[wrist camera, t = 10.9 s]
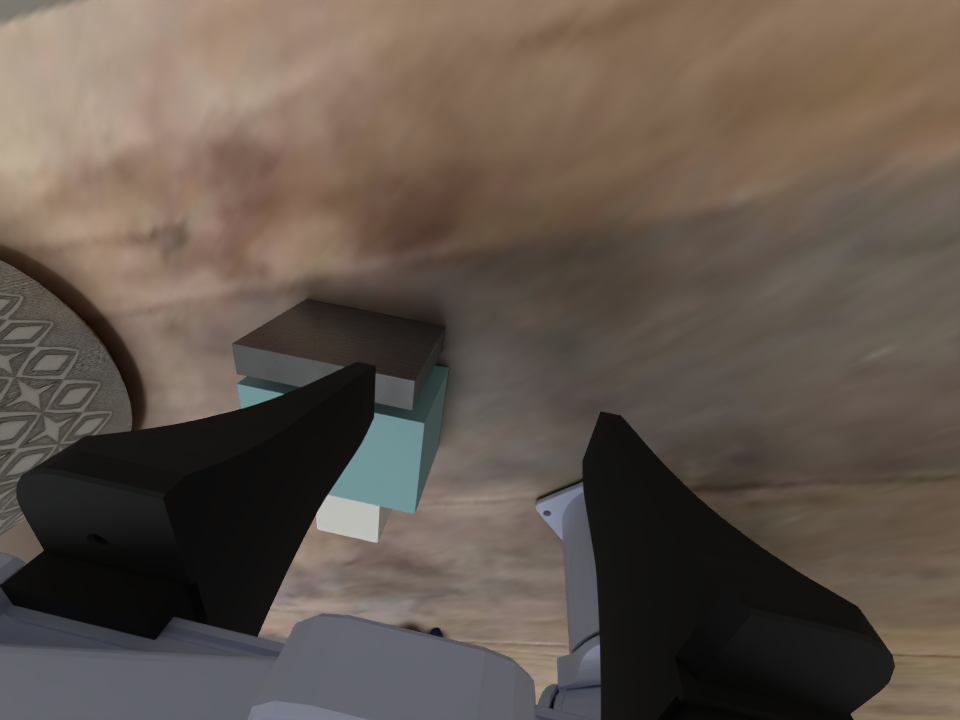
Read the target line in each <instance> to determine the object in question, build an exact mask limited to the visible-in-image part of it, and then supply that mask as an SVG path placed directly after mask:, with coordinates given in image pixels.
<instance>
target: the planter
mask: <svg viewBox="0 0 960 720" xmlns="http://www.w3.org/2000/svg"><path fill="white" fill-rule="evenodd" d="M131 428H132V410H131V403H130V400H129V396H128V393H127V389H126V387H125V384H124V382H123V380H122V378H121V375H120V372H119V370H118V368H117V366H116V363H115V361H114V360H113V358H112V356H111V355H110V353H109V351H108V350H107V348H106V346H105V345H104V344H103V342H102V341H101V340H100V338H99V337H98V336H97V334H96V333H95V332H94V331H93V330H92V329H91V328H90V327H89V325H88V324H87V323H86V322H85V321H84V320H83V319H82V318H81V317H80V316H79V315H78V314H77V313H76V312H74V311H73V310H72V309H71V308H70V307H69V306H68V305H66V304H65V303H64V302H63V301H61V300H60V299H59V298H57V297H56V296H55V295H53V294H52V293H51V292H50V291H48V290H47V289H46V288H44V287H43V286H42V285H40V284H39V283H38V282H37V281H35V280H34V279H32V278H30V277H29V276H27V275H26V274H24V273H23V272H21V271H19V270H18V269H16V268H15V267H13V266H11V265H9V264H7V263H5V262H3V261H1V260H0V536H1V535H3V534H4V533H6V532H7V531H9V530H10V529H11V528H12V527H14V526H16V525H17V524H19V523H20V522H22V521H23V520H24V519H26V518H25V516H24V514H23V512H22V511H21V508H20V506H19V503H18V501H17V498H16V486H17V483H18V481H19V479H20V477H21V475H23V474H24V473H26V472H28V471H29V470H31V469H33V468H34V467H36V466H37V465H39V464H41V463H42V462H44V461H45V460H47V459H49V458H50V457H52V456H54V455H55V454H57V453H58V452H60V451H62V450H63V449H65V448H66V447H68V446H70V445H71V444H73V443H75V442H76V441H78V440H79V439H81V438H83V437H85V436H91V435H101V434H109V433H118V432H127V431H131Z"/></svg>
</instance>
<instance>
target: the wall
mask: <svg viewBox="0 0 960 720" xmlns="http://www.w3.org/2000/svg"><path fill="white" fill-rule="evenodd" d="M444 334H445V327H444V326H439V325H434V324H429V323H424V322H419V321H414V320H409V319H403V318H398V317H393V316H388V315H383V314H378V313H373V312H368V311H363V310H358V309H353V308H348V307H343V306H338V305H333V304H327V303H322V302H317V301H312V300H307V299H306V300H304V301H302V302H301V303H299V304H297V305H296V306H294V307H292V308H291V309H289V310H287V311H286V312H284V313H282V314H281V315H279V316H277V317H276V318H274V319H272V320H271V321H269V322H267V323H266V324H264V325H262V326H261V327H259V328H257V329H256V330H254V331H252V332H251V333H249V334H247V335H246V336H244V337H242V338H241V339H239V340H237V341H236V342H234V343H232V346H233V353H234V359H235V365H236V371H237V374H240V375H245V376H250V377H255V378H260V379H264V380H269V381H274V382H279V383H284V384H288V385H293V386H298V387H303V386H305V385H307V384H309V383H312V382H314V381H316V380H318V379H320V378H323V377H325V376H327V375H329V374H331V373H333V372H335V371H337V370H340V369H342V368H344V367H346V366H348V365H351V364H353V363H356V362H361V363H366V364H371V365H376V379H375V403H379V404H384V405H389V406H394V407H398V408H403V409H408V410H413V408H414V406H415V404H416V402H417V400H418V398H419V396H420V394H421V392H422V390H423V388H424V386H425V384H426V382H427V380H428V378H429V376H430V374H431V372H432V370H433V368H434V366H435V364H436V363H437V361H438V359H439V357H440V355H441V353H442V350H443V342H444Z"/></svg>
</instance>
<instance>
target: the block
mask: <svg viewBox="0 0 960 720" xmlns="http://www.w3.org/2000/svg"><path fill="white" fill-rule="evenodd" d="M448 370H449V368H447V367H442V366H437V365H435V366H434V368H433V370H432V372H431V374H430V376H429V378H428V380H427V382H426V384H425V386H424V388H423V390H422V392H421V394H420V396H419V398H418V400H417V402H416V404H415V406H414V408H413V410H408V409H403V408H398V407H394V406H389V405H384V404H379V403H375V410H374V419H373V421H372V423H371V426H370V428H369V430H368V432H367V434H366V436H365V438H364V440H363V442H362V444H361V445H360V447H359V449H358V450H357V452H356V453H355V455H354V456H353V458H352V459H351V461H350V462H349V464H348V465H347V467H346V468H345V470H344V471H343V473H342V474H341V476H340V477H339V479H338V480H337V482H336V483H335V485H334V486H333V488H332V489H331V491H330V492H329V494H328V495H331V496H336V497H340V498H345V499H349V500H354V501H358V502H363V503H367V504H372V505H376V506H381V507H385V508H390V509H394V510H399V511H403V512H408V513H412V514H415V512H416V509H417V506H418V503H419V501H420V498H421V495H422V492H423V489H424V486H425V484H426V481H427V478H428V475H429V472H430V469H431V467H432V464H433V461H434V458H435V455H436V452H437V450H438V445H439V438H440V430H441V423H442V415H443V408H444V400H445V392H446V385H447V377H448ZM237 388H238V394H239V400H240V406H241V409H243V408H246V407H249V406H252V405H255V404H258V403H261V402H264V401H267V400H270V399H273V398H276V397H278V396H281V395H283V394H285V393H288V392H290V391H293V390H295V389H298V388H300V387H298V386H293V385H288V384H284V383H279V382H274V381H269V380H264V379H260V378H255V377H250V376H247V377H246V378H244V379H243V380H241V381H240V382H239V383H237Z"/></svg>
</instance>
